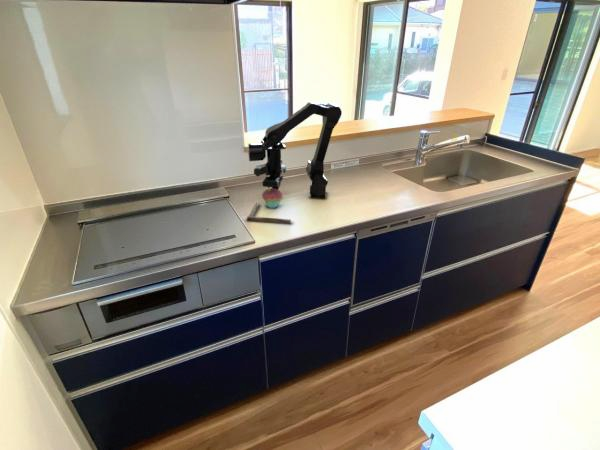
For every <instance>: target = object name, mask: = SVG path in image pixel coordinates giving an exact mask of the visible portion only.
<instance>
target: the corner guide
mask: <svg viewBox="0 0 600 450" xmlns="http://www.w3.org/2000/svg"><path fill="white" fill-rule="evenodd" d="M259 207H260V202H256V203H255V205H254V207H253V208H252V210H251V212H250V214H249V215H248V216H247V217H246V221H247V222H259V223H272V224H283V225H284V224H285V225H291V223H292V219H290V218H279V217H277V218H275V217H262V216H255V214H256V213H257V212H258V209H259Z"/></svg>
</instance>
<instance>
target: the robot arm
mask: <svg viewBox="0 0 600 450" xmlns="http://www.w3.org/2000/svg"><path fill="white" fill-rule="evenodd" d="M342 113H343V112H342V109H341V107H339V105H337V104H335V103H333V102H328V103H321V102H313V101H308V102H307V103H306V104H305V105H304V106H303V107H301V108H299V109H298V110H297V111H296V112H294V113H293V114H292V115H289V117H287V118H286V119H284V120H283V121H280V122H278V123H275V124H272V125H271V126H269V127H267V128H266V130H265V133H264V137H263V138H262V140H260V143H248V147H247V148H248V149H247V150H248V151H247V154H248V155H247V156H248V161H249V162H259V161H260V162H261V161H264V160H266V162H265V163H262V164H259V165H256V166H255V167H254V169H253V175H255V176H256V177H260V176H262V175H263V176H264V175H265V177H264V178H263V180H262V182H261V183H262V187H264V188H268V187H270V188H271V189H278V190H279V189H280V187H281V184H282V181H283V178H284V175H282V174H286V172H287V166H286V165H285V164H282V163H283V159H282V150H286V147H287V146H286V145H285V144H284V143H283V142H282V141H283V140H284V139H286V137H287V135H288V133H289V132H291V131H292V130H293V129H294V128H296V127H297V126H299V125H301V124H302V123H303V122H304V121H305V120H308V118H310V117H312V115H317V116H321V117H322V127H321V129H320V134H319V137H318V140H317V144H316V149H315V151H314V155H313V157H312V159H311V161H310V160H308V161H307V165H306V166H305V172H306V175H307V176H308V178H309V180H310V181H311V184H310V186H309V195H310V199H321V200H322V199H323V200H325V199H326V198H327V197H326V196H327V185H328V183H329V180H328V179H327V178H326V176H325V175H324V171H325V167H324V166H325V164H324V163H325V158H326V155H327V152H328V148H329V144H330V141H331V138H332V134H333V131H334V129H335V127H336V126H337V124H338V123H339V122H340V119H341V117H342Z"/></svg>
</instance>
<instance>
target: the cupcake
mask: <svg viewBox="0 0 600 450" xmlns="http://www.w3.org/2000/svg"><path fill="white" fill-rule="evenodd" d="M283 197H284V195H283V192H282V191H281V190H279V189H272V187H267V189H265V190H264V191H263V192H262V194H261V198H262V200H263V201H264V202H265V204H266V207H268V208H270V209H274V208H277V207H279V205H280V201H281V200H283Z"/></svg>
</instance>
